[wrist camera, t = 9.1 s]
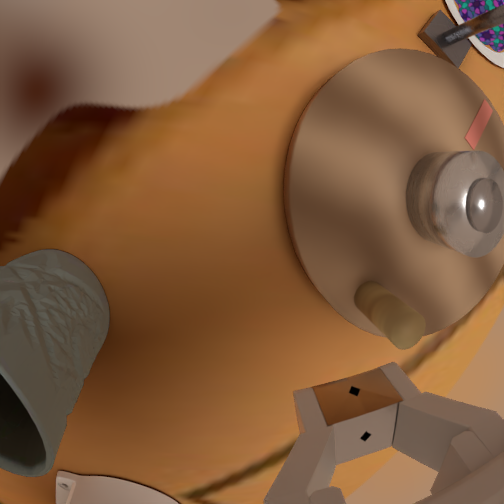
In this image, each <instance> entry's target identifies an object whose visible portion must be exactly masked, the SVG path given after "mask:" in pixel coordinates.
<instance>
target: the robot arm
mask: <svg viewBox="0 0 504 504" xmlns="http://www.w3.org/2000/svg"><path fill="white" fill-rule="evenodd" d="M293 397H294V403H295V409H296V415H297V421H298V425H299V430H300V435H299V437H298V439H297V441H296V443H295V444H294V446H293V448H292V450H291V452H290V454H289V456H288V458H287V460H286V461H285V463H284V465H283V467H282V469H281V471H280V472H279V474H278V476H277V478H276V479H275V481H274V483H273V485H272V486H271V488H270V490H269V491H268V493H267V495H266V496H265V498H264V504H346V503H345V500H344V497H343V494H342V492H341V489H340V488H337V487H333V486H331V487H329V484H330V482H331V479H332V476H333V473H334V470H335V467H336V465H338V464H341V463H344V462H347V461H350V460H353V459H356V458H358V457H361V456H364V455H367V454H370V453H373V452H376V451H379V450H382V449H385V448H388V447H391V446H392V447H393V448H395V449H397V450H398V451H400V452H402V453H404V454H406V455H408V456H409V457H411V458H413V459H415V460H417V461H418V462H420V463H422V464H424V465H426V466H428V467H430V468H432V469H434V470H436V471H438V472H439V473H438V475H437V477H436V479H435V481H434V484H433V486H432V488H431V490H430V491H431V493H432V495H430V496H428V497H426V498H424V499H422V500H420V501H418V502H416V503H414V504H504V420H503V419H502V418H501V417H500V415H499V414H498V413H497V412H496V411H492V410H489V409H485V408H481V407H477V406H473V405H469V404H466V403H463V402H459V401H456V400H452V399H449V398H445V397H442V396H438V395H435V394H432V393H429V392H424V393H421V392H420V391H419V390H418V389H417V387H416V386H415V385H414V384H413V383H412V381H411V380H410V379H409V378H408V377H407V375H406V374H405V373H404V372H403V371H402V369H401V368H400V367H399V366H398V365H397V363H395V362H391V363H389V364H386V365H383V366H380V367H378V368H376V369H373V370H370V371H367V372H364V373H360V374H357V375H354V376H351V377H348V378H344V379H341V380H337V381H333V382H329V383H325V384H321V385H317V386H313V387H310V388H305V389H301V390H296V391H293ZM56 504H179V503H177V502H176V501H175V500H173V499H171V498H170V497H168V496H166V495H164V494H162V493H160V492H158V491H155V490H153V489H150V488H148V487H145V486H142V485H139V484H136V483H132V482H129V481H125V480H121V479H116V478H111V477H103V476H80V475H76V474H72V473H69V472H65V471H58V472H57V476H56Z"/></svg>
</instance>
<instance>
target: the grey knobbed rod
mask: <svg viewBox="0 0 504 504" xmlns="http://www.w3.org/2000/svg"><path fill="white" fill-rule="evenodd" d="M501 24H504V5H501V6H499V7H497V8H494V9H492V10H490V11H487V12H485V13H483V14H481V15H479V16H477V17H474V18H472V19H470V20H468V21H466V22H464V23H462V24H460V25H458V26H455V25H454V24H453V23H452V22H451V20H450V19H449V18H448V17H447V16H446V15H445V14H444V13H443V12H442V11H441V10H439V11H437V12H436V13H434V14H433V15H432V17H431V18H430V19H429V21H428V22H427V23H426V24H425V26H424V27H423V28H422V30H421V31H420V32H419V34H418V36H419V37H420V38H421V39H422V40H423V41H424V42H425V43H426V44H427V45H428V46H429V47H430V49H431V50H432V51H433V52H434V53H435V54H436V55H437V56H438V57H439V58H441V59H443V60H445V61H447V62H449V63H450V64H452V65H454V66H455V67H457V68H459V66H460V65H461V63H462V61H463V59H464V57H465V56H466V54H467V52H468V50H469V49H470V47H471V45H472V44H471V43H470V42H469V41H468V40H467V38H469V37H471V36H473V35H476V34H478V33H481V32H483V31H486V30H488V29H491V28H493V27H496V26H499V25H501Z"/></svg>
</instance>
